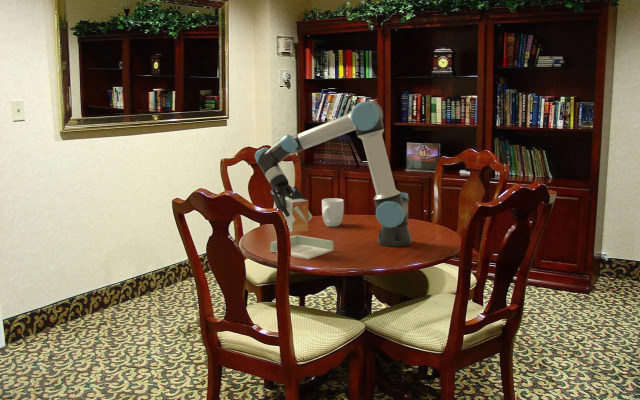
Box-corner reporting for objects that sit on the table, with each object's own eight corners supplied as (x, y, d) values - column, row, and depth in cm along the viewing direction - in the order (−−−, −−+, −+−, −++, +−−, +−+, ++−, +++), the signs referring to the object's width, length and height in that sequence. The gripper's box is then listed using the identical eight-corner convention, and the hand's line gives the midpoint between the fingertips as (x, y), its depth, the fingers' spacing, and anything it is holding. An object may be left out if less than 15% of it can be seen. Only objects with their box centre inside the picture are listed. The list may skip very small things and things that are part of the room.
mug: (333, 229, 329) (333, 203, 327) (314, 227, 335) (314, 201, 332) (347, 224, 342) (347, 199, 340) (328, 222, 348) (328, 197, 345)
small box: (292, 232, 281) (292, 202, 278) (284, 230, 286) (284, 199, 284) (308, 230, 285) (308, 200, 283) (300, 227, 290) (300, 198, 288)
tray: (333, 250, 287) (333, 240, 286) (308, 259, 273) (308, 249, 272) (296, 244, 299) (296, 235, 298) (270, 252, 284) (270, 242, 283)
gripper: (291, 182, 301) (316, 222, 292) (253, 186, 286) (278, 229, 277) (299, 171, 296) (324, 211, 287) (261, 175, 281) (286, 218, 273)
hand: (301, 220), depth 282 cm, fingers closed on small box, 9 cm apart
